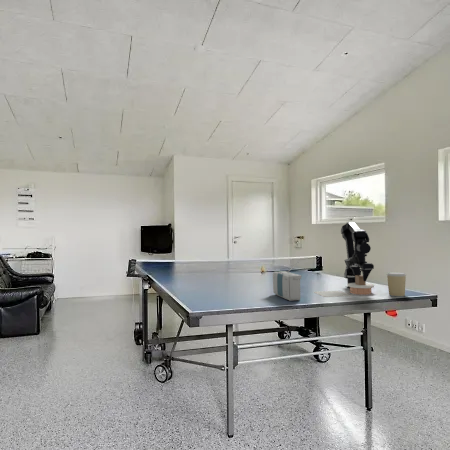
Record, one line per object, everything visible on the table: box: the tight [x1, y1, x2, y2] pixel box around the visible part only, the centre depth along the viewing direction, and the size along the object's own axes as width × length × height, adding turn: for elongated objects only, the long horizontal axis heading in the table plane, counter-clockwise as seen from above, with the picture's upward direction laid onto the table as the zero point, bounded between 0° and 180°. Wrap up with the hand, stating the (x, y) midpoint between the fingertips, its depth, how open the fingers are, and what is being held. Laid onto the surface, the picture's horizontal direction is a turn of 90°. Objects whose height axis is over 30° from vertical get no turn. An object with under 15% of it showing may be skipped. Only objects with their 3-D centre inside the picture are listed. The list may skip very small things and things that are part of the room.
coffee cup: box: [386, 271, 407, 298], centre depth 191 cm, size 9×9×12 cm
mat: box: [313, 290, 353, 298], centre depth 195 cm, size 16×16×1 cm
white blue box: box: [272, 261, 302, 302], centre depth 189 cm, size 21×8×20 cm, turn 14°
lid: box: [346, 274, 375, 289], centre depth 197 cm, size 14×14×6 cm
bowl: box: [349, 287, 372, 295], centre depth 197 cm, size 11×11×4 cm
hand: (360, 280), depth 197 cm, fingers open, 9 cm apart
